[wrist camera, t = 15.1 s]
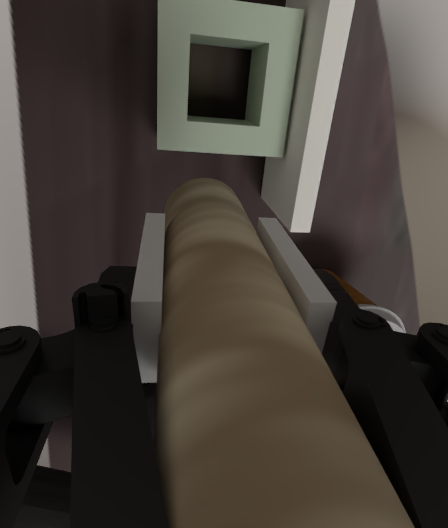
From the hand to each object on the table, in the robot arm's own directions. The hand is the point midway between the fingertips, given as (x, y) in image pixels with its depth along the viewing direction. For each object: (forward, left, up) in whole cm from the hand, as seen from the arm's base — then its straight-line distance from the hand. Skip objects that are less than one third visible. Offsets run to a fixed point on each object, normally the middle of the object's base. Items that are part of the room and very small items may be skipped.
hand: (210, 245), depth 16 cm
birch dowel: (0, 0, -4) cm, 4 cm away
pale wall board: (+11, 0, -21) cm, 24 cm away
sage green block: (+6, +4, -21) cm, 23 cm away
